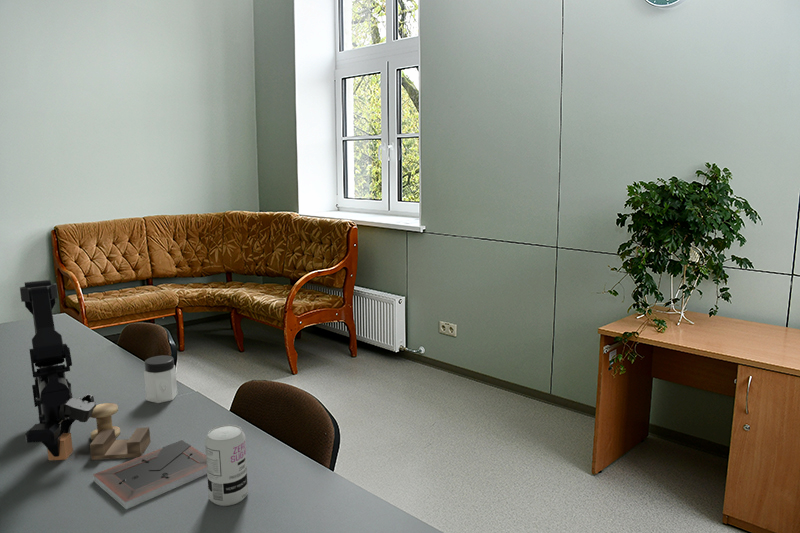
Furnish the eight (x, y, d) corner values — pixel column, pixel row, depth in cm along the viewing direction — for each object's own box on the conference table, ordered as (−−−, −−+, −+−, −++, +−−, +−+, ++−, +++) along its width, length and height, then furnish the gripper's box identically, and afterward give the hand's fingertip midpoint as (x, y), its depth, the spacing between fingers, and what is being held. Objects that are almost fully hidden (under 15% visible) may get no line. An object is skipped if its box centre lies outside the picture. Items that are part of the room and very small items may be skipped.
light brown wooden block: (48, 460, 147) (46, 441, 146) (56, 452, 150) (53, 433, 150) (66, 459, 147) (63, 440, 146) (73, 451, 151) (70, 432, 150)
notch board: (91, 459, 147) (89, 444, 146) (103, 444, 154) (102, 429, 154) (140, 457, 148) (139, 441, 147) (150, 441, 156) (149, 427, 155)
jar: (149, 405, 178) (146, 366, 175) (143, 396, 184) (140, 358, 182) (180, 398, 183) (177, 360, 180) (174, 389, 189) (171, 353, 187)
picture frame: (182, 448, 153) (94, 483, 137) (181, 439, 153) (92, 473, 137) (218, 471, 142) (126, 511, 127) (217, 461, 142) (125, 501, 126)
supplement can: (213, 487, 135) (209, 424, 132) (251, 485, 135) (247, 422, 132) (205, 508, 127) (200, 442, 124) (245, 506, 127) (241, 440, 124)
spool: (86, 442, 155) (83, 415, 154) (96, 430, 162) (94, 403, 161) (114, 440, 156) (112, 413, 155) (124, 428, 163) (121, 402, 162)
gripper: (72, 406, 137) (79, 469, 140) (102, 376, 155) (108, 432, 158) (20, 408, 136) (28, 472, 139) (57, 378, 154) (63, 435, 157)
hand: (60, 451), depth 149 cm, fingers closed on light brown wooden block, 4 cm apart
